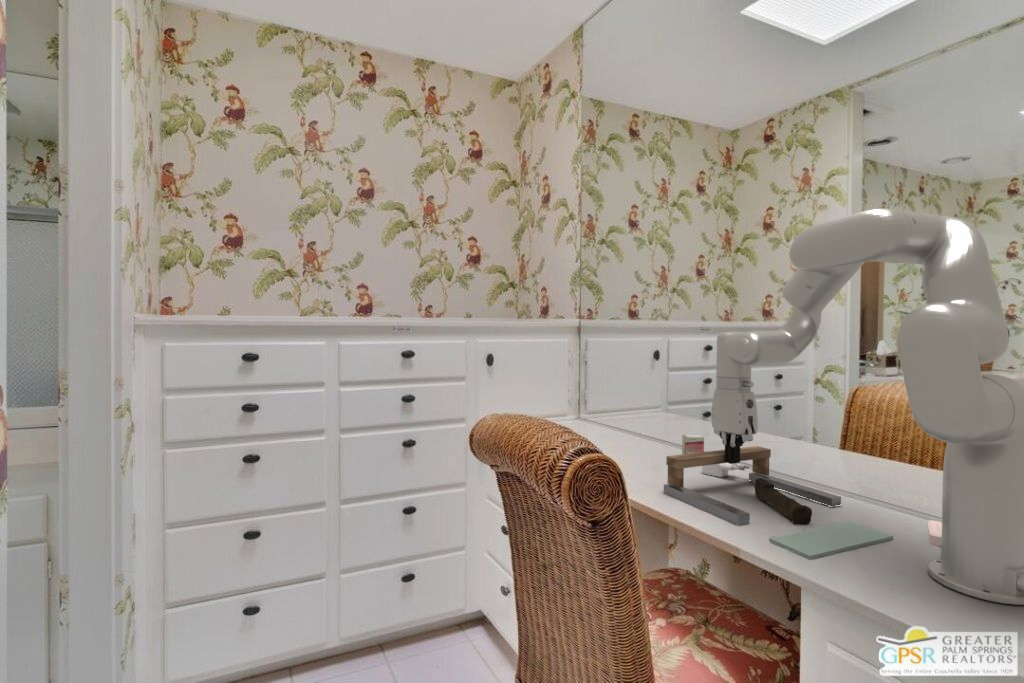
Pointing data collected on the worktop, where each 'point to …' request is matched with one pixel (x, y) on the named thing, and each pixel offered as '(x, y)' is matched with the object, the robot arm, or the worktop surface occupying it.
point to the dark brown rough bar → (782, 502)
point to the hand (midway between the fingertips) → (732, 462)
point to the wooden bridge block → (715, 462)
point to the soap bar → (935, 532)
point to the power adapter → (722, 469)
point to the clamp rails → (739, 515)
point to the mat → (830, 539)
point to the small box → (692, 443)
